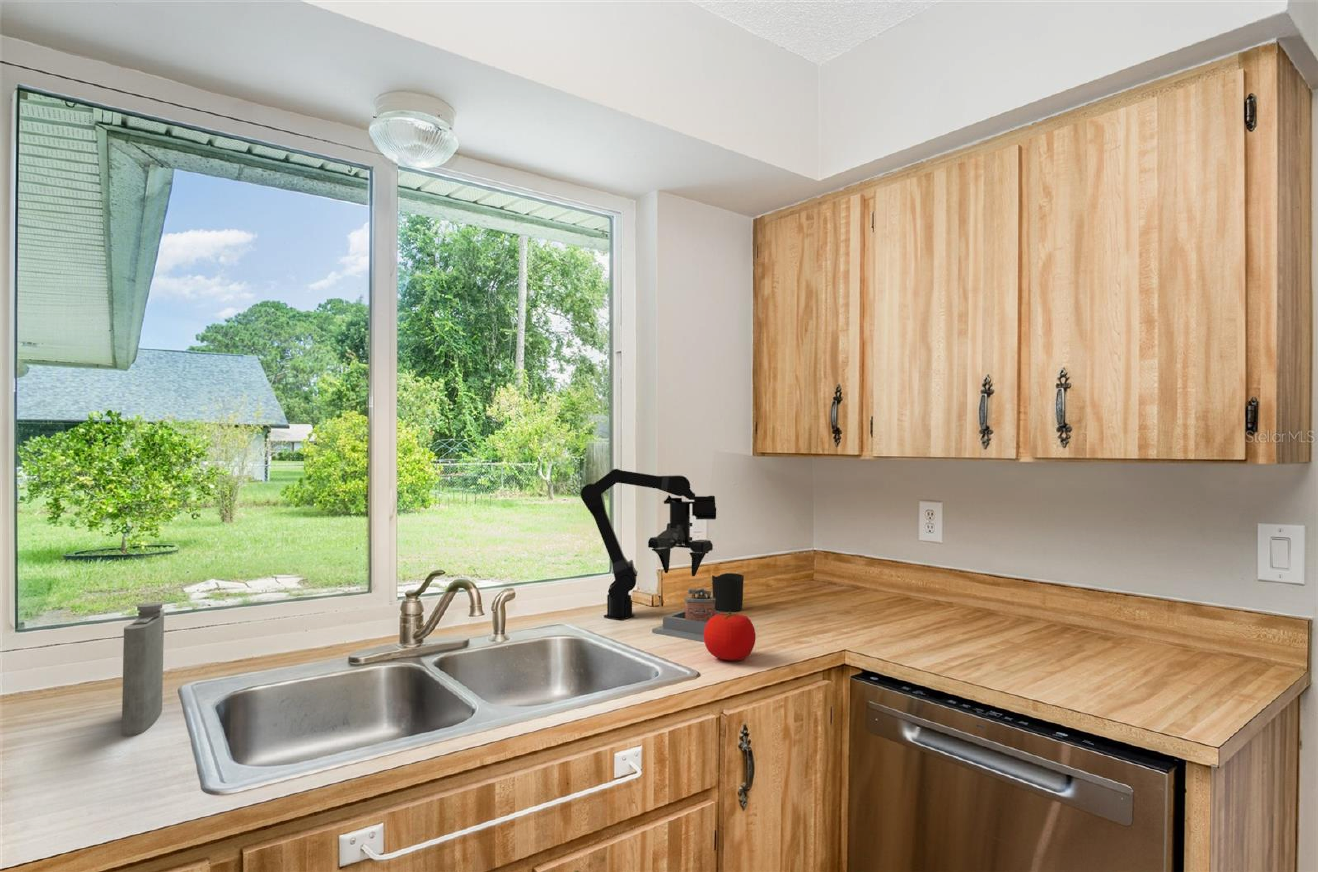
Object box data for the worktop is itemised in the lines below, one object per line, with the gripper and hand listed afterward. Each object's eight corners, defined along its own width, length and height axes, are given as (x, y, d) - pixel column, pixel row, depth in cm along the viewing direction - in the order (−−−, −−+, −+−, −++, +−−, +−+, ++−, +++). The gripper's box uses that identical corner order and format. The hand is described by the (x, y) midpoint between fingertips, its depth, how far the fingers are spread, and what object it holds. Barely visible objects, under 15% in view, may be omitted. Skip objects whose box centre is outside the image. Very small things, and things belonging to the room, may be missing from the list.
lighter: (715, 625, 189) (715, 587, 189) (715, 628, 185) (715, 589, 186) (684, 625, 189) (684, 587, 189) (684, 628, 186) (684, 589, 186)
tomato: (761, 654, 165) (761, 608, 165) (745, 669, 154) (744, 620, 154) (715, 649, 170) (715, 604, 170) (696, 662, 159) (696, 615, 159)
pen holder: (745, 612, 209) (745, 578, 209) (713, 612, 209) (713, 578, 209) (741, 605, 218) (741, 573, 218) (711, 605, 218) (711, 572, 218)
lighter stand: (652, 632, 185) (652, 617, 185) (689, 619, 200) (689, 605, 200) (712, 643, 175) (712, 626, 175) (746, 628, 190) (746, 613, 190)
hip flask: (143, 706, 131) (145, 596, 131) (169, 702, 132) (171, 594, 133) (119, 737, 116) (121, 614, 117) (149, 733, 118) (151, 611, 119)
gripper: (636, 519, 202) (636, 575, 202) (692, 523, 192) (692, 582, 191) (659, 517, 212) (659, 570, 211) (713, 520, 201) (713, 576, 200)
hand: (679, 574), depth 203 cm, fingers open, 9 cm apart
